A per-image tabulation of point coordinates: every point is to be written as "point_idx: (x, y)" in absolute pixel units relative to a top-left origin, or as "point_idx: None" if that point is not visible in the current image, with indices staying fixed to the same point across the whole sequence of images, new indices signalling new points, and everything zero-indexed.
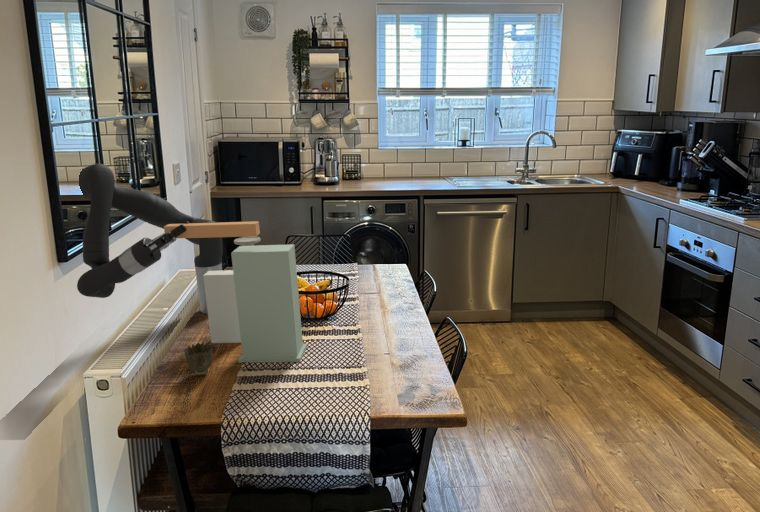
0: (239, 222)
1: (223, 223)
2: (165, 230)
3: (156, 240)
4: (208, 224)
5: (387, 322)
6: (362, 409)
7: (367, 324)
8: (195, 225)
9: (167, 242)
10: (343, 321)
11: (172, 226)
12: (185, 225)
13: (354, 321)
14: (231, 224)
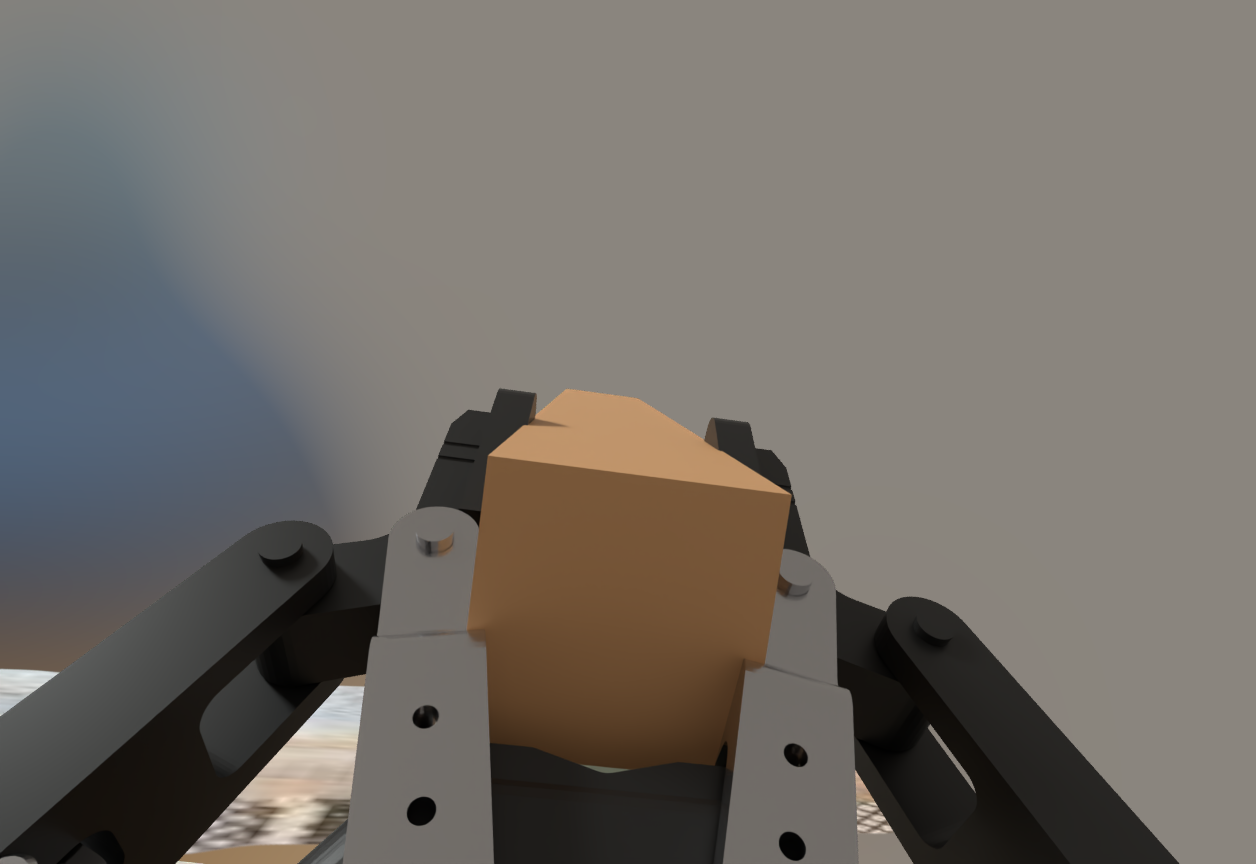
0: (584, 395)
1: (604, 403)
2: (772, 580)
3: (1122, 819)
4: (634, 413)
5: (303, 739)
6: (878, 814)
7: (289, 780)
8: (679, 427)
9: (924, 751)
10: (199, 839)
11: (745, 468)
12: (678, 437)
13: (227, 809)
14: (647, 405)
